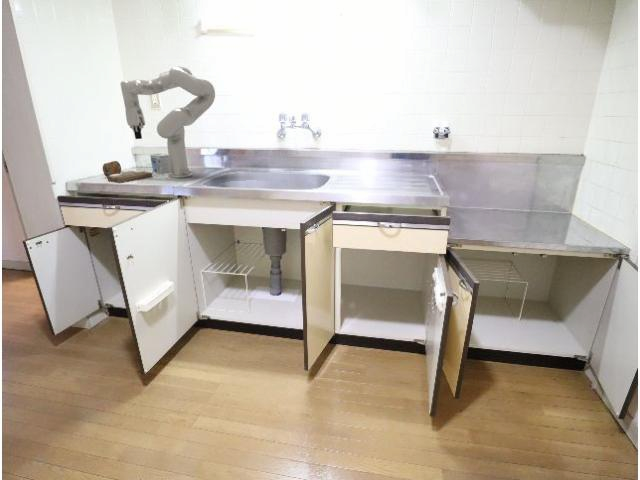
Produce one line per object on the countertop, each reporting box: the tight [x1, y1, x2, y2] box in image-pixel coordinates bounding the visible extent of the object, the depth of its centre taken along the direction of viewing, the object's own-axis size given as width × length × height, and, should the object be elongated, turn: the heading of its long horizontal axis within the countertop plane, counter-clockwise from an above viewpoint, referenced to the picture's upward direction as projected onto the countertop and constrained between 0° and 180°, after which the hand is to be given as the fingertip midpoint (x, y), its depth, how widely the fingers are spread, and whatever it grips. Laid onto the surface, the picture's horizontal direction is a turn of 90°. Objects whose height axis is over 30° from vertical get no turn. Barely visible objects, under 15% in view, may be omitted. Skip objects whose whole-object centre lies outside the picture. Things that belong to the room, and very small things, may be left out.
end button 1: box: [110, 173, 122, 177], centre depth 200 cm, size 4×4×3 cm
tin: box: [102, 160, 122, 178], centre depth 213 cm, size 15×3×8 cm, turn 179°
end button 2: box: [132, 169, 146, 173], centre depth 211 cm, size 4×4×3 cm
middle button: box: [121, 169, 134, 175], centre depth 205 cm, size 4×4×3 cm
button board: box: [106, 171, 153, 184], centre depth 204 cm, size 11×20×3 cm, turn 149°
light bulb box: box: [150, 153, 171, 174], centre depth 225 cm, size 11×7×11 cm, turn 56°
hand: (138, 138), depth 208 cm, fingers closed
